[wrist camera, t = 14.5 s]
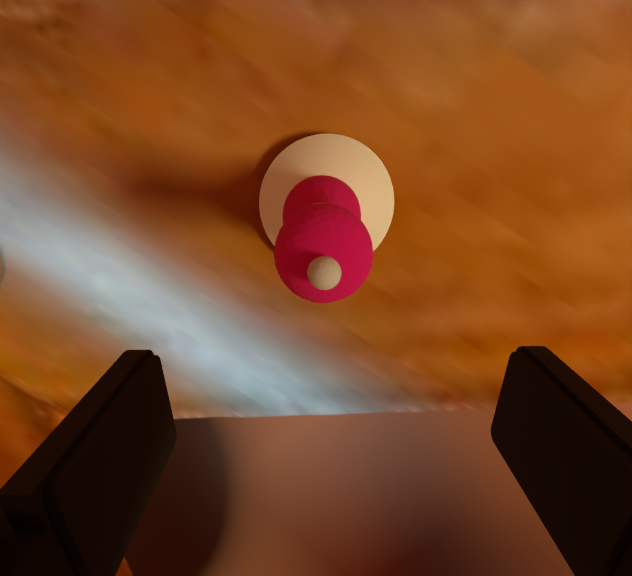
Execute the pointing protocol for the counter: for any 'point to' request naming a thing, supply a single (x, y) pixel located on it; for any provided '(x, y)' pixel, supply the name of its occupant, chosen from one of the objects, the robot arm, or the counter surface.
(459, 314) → the counter surface
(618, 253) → the counter surface
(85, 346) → the counter surface
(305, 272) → the pepper mill
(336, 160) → the disc
